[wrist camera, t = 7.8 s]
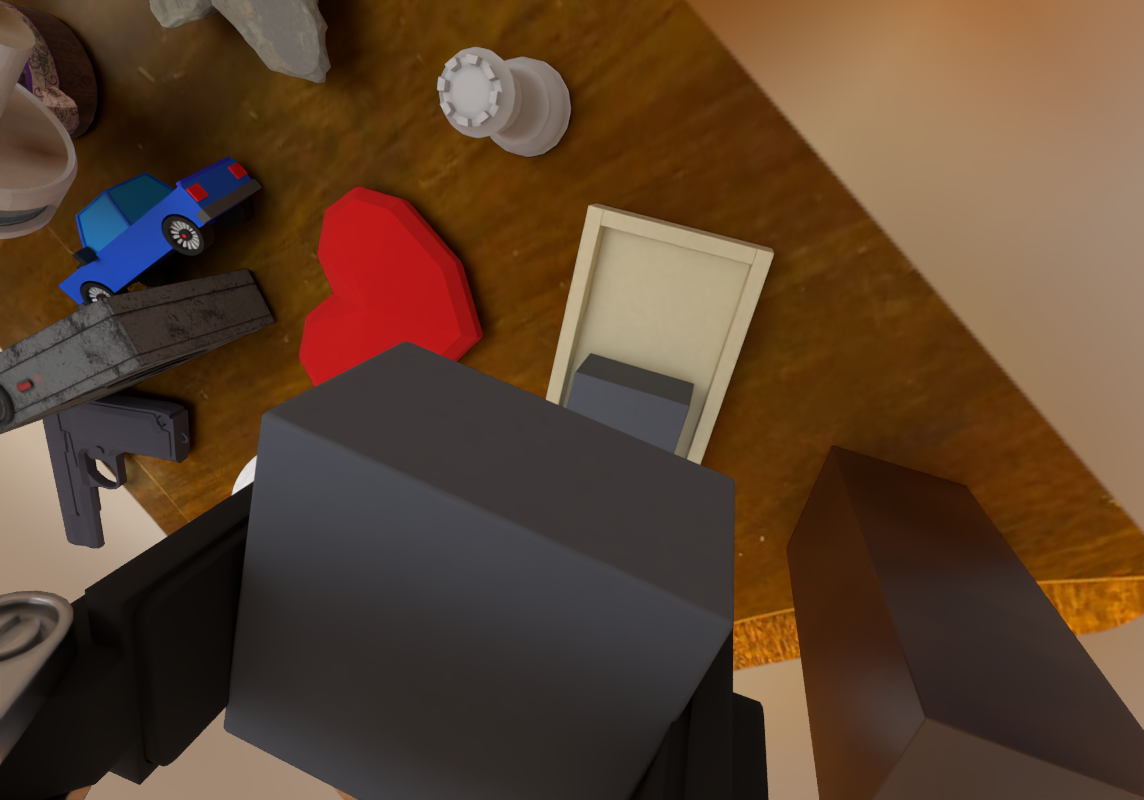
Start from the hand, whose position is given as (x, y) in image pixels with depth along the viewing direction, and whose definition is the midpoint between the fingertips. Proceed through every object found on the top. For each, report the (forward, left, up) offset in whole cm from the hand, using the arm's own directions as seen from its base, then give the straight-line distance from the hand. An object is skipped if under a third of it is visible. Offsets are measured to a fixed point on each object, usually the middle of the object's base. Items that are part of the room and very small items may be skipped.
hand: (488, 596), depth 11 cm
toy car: (+27, +5, -22) cm, 36 cm away
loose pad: (0, -1, -1) cm, 1 cm away
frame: (0, +3, -24) cm, 25 cm away
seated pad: (0, +6, -24) cm, 25 cm away
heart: (+14, +4, -25) cm, 28 cm away
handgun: (+29, +24, -24) cm, 45 cm away
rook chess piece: (+9, -8, -25) cm, 27 cm away
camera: (+31, +11, -24) cm, 41 cm away
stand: (-15, +8, -24) cm, 29 cm away
